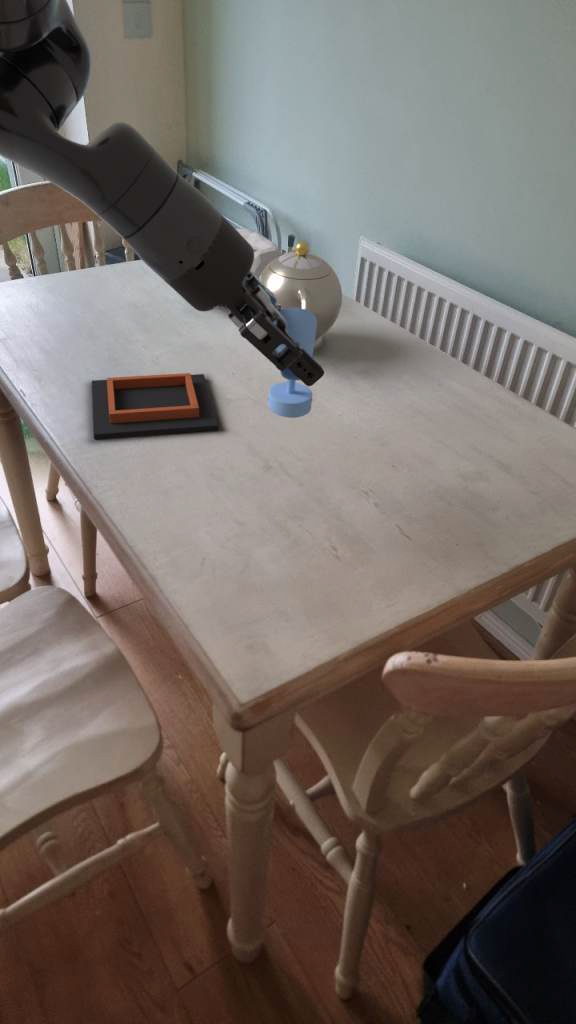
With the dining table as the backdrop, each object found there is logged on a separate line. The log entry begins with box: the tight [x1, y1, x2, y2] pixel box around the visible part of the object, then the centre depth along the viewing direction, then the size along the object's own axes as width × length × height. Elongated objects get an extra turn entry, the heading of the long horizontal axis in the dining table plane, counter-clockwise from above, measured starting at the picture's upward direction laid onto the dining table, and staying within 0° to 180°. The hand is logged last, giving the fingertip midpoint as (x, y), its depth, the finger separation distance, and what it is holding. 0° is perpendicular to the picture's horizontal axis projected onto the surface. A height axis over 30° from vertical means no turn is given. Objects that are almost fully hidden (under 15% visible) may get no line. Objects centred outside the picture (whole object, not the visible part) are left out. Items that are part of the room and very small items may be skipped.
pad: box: [91, 372, 219, 440], centre depth 95 cm, size 16×14×2 cm
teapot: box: [259, 241, 343, 353], centre depth 107 cm, size 18×14×16 cm
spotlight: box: [267, 308, 317, 419], centre depth 70 cm, size 5×10×7 cm
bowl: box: [215, 227, 283, 309], centre depth 123 cm, size 21×20×10 cm
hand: (307, 360), depth 70 cm, fingers closed on spotlight, 7 cm apart
